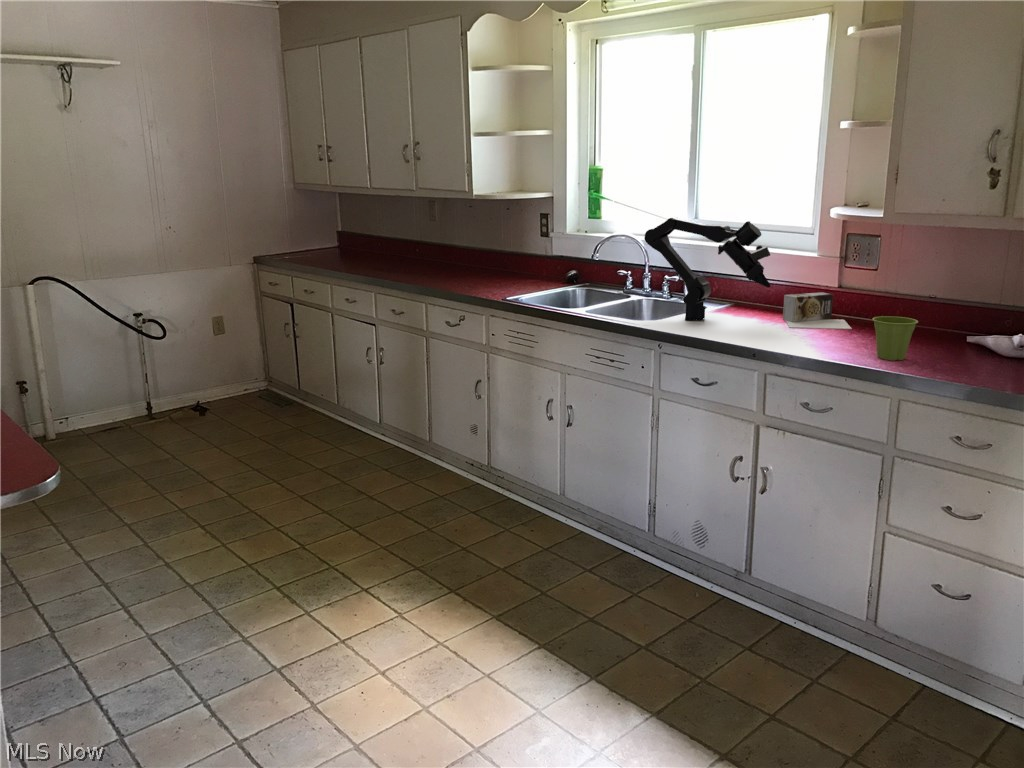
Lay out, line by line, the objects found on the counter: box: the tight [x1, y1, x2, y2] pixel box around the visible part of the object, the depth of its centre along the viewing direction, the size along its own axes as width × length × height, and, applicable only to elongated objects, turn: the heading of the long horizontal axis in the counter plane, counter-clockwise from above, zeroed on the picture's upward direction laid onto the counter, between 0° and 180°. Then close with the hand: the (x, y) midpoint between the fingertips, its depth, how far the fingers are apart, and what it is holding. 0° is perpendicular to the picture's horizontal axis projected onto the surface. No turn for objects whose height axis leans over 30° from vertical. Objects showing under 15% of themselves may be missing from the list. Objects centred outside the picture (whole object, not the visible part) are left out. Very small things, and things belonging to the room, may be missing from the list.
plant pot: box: [872, 315, 919, 361], centre depth 232 cm, size 12×12×11 cm
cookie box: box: [782, 291, 834, 322], centre depth 290 cm, size 9×6×16 cm
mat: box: [785, 318, 853, 330], centre depth 284 cm, size 20×16×1 cm
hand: (769, 286), depth 284 cm, fingers closed
